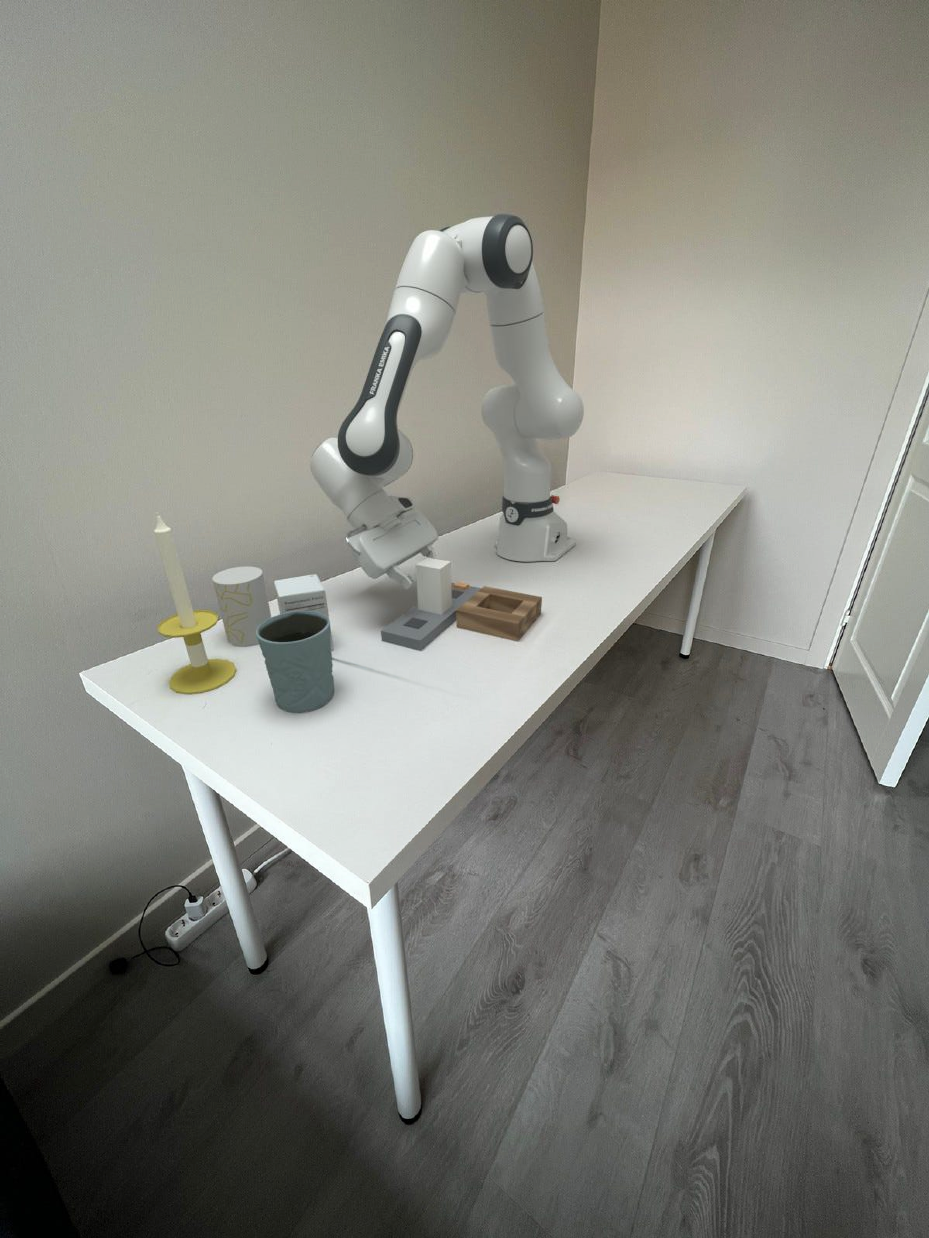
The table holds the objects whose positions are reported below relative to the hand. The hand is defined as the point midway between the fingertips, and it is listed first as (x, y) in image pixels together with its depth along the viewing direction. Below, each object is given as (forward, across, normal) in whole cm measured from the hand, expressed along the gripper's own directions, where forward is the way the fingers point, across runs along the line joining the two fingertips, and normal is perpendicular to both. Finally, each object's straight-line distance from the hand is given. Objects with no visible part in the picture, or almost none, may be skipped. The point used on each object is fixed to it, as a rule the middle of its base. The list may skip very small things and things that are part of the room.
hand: (424, 577), depth 99 cm
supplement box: (-2, -19, +15) cm, 24 cm away
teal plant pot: (+4, -29, +9) cm, 31 cm away
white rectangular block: (+7, 0, +4) cm, 8 cm away
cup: (-12, -19, +25) cm, 34 cm away
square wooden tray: (+16, +4, -3) cm, 17 cm away
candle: (-9, -33, +22) cm, 41 cm away
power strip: (+8, 0, +5) cm, 9 cm away
